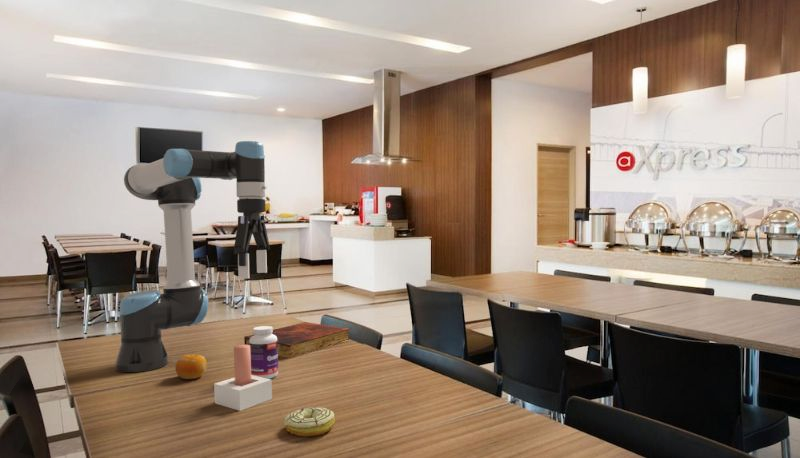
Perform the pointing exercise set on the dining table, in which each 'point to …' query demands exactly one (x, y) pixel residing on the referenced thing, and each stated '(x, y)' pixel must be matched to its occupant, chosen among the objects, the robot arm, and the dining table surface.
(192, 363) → the fruit
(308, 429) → the decorated donut
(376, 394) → the dining table surface
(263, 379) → the socket block
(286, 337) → the book
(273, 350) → the pill bottle
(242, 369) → the peg
